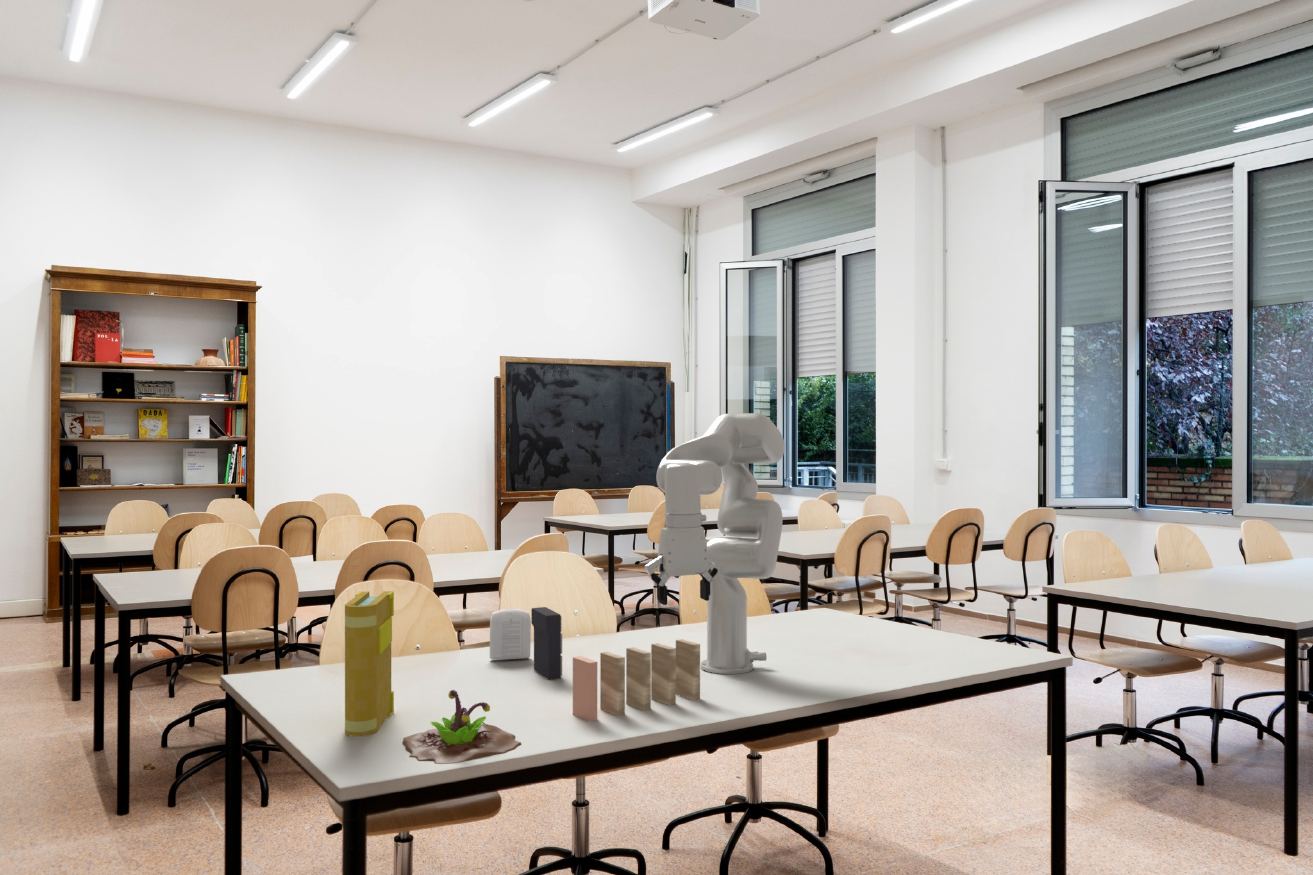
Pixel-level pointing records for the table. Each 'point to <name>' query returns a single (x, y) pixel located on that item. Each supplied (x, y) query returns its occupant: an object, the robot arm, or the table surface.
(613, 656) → the domino
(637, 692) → the domino
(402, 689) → the table surface
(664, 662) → the domino
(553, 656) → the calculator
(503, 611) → the grey headstone
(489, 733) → the plant
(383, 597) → the book
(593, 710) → the domino
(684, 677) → the domino
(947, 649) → the table surface
